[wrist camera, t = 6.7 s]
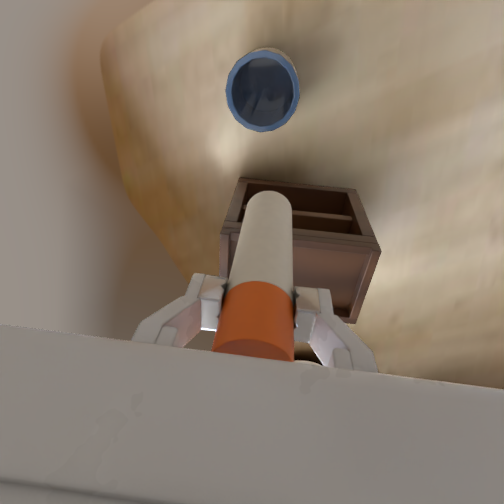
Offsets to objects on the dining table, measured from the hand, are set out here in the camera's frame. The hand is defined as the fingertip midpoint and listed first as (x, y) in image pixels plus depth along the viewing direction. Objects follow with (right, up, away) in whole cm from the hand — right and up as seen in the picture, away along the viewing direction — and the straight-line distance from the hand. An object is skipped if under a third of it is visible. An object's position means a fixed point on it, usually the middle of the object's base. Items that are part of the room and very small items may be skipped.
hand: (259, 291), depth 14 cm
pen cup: (+1, +19, +19) cm, 27 cm away
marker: (+1, +4, +7) cm, 8 cm away
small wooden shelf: (+5, +6, +27) cm, 28 cm away
